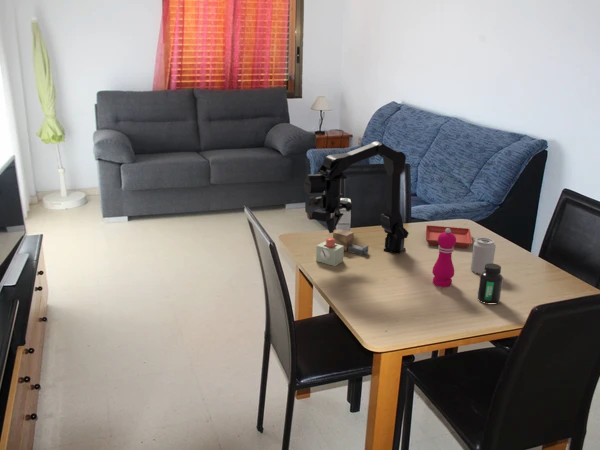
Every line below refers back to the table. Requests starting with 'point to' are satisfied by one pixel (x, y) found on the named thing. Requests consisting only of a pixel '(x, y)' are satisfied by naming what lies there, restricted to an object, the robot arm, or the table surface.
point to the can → (482, 254)
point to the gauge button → (330, 242)
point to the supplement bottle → (490, 284)
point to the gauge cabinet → (329, 254)
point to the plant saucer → (460, 233)
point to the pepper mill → (444, 260)
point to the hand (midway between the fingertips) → (330, 232)
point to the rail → (358, 249)
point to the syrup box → (344, 218)
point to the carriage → (343, 238)
